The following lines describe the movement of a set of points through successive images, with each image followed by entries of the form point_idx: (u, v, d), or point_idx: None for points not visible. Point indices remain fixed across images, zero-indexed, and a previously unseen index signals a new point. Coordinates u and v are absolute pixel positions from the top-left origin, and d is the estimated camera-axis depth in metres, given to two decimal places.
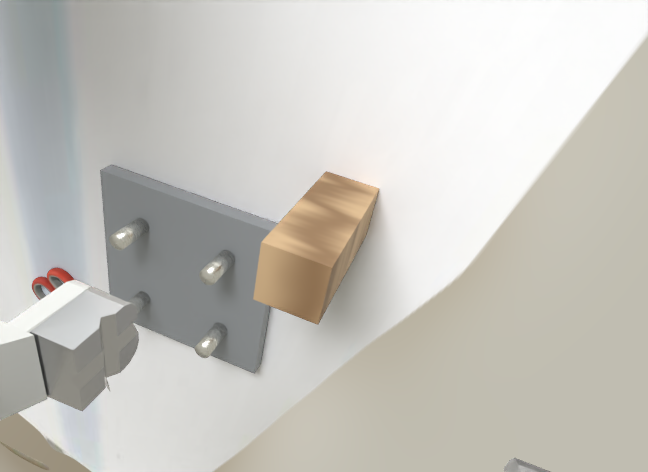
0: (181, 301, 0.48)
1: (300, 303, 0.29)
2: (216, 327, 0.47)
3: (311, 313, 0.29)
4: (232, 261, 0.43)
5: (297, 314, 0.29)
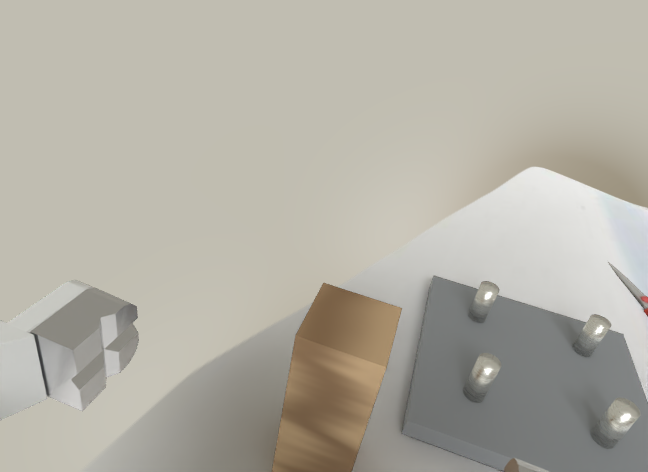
0: (529, 345, 0.40)
1: (341, 302, 0.25)
2: (480, 316, 0.41)
3: (329, 292, 0.25)
4: (465, 387, 0.34)
5: (346, 292, 0.26)
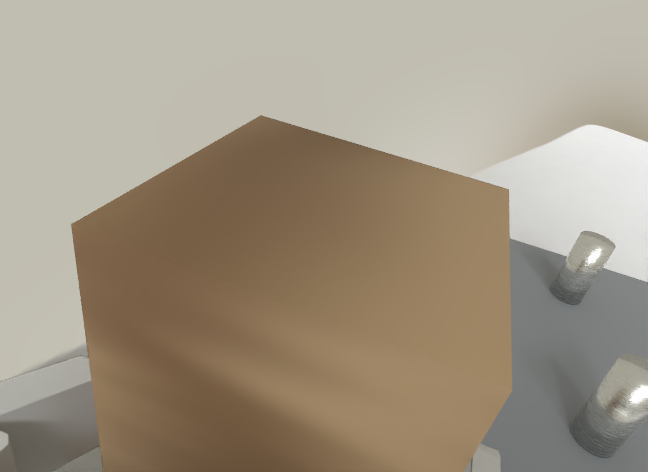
0: None
1: (310, 156, 0.07)
2: (576, 293, 0.24)
3: (274, 134, 0.08)
4: (577, 424, 0.17)
5: (330, 139, 0.08)
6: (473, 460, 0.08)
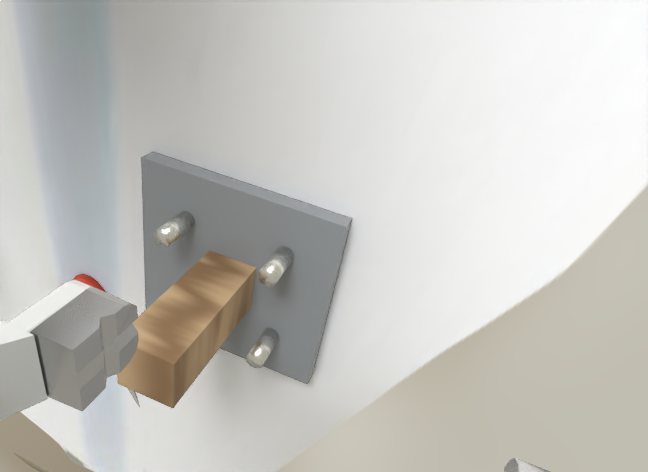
0: None
1: (155, 390, 0.32)
2: (267, 333, 0.42)
3: (165, 398, 0.32)
4: (291, 259, 0.38)
5: (155, 398, 0.33)
6: None
